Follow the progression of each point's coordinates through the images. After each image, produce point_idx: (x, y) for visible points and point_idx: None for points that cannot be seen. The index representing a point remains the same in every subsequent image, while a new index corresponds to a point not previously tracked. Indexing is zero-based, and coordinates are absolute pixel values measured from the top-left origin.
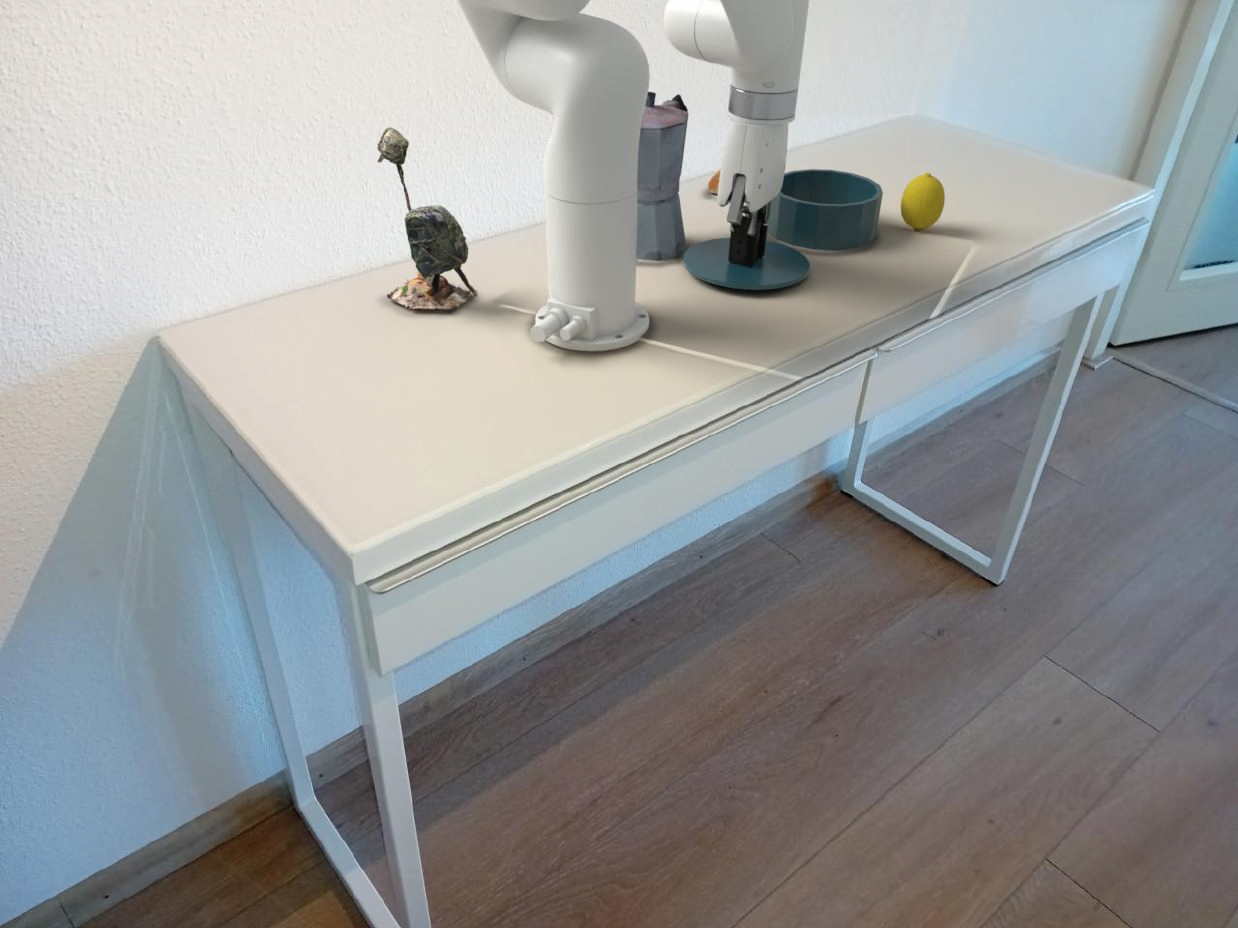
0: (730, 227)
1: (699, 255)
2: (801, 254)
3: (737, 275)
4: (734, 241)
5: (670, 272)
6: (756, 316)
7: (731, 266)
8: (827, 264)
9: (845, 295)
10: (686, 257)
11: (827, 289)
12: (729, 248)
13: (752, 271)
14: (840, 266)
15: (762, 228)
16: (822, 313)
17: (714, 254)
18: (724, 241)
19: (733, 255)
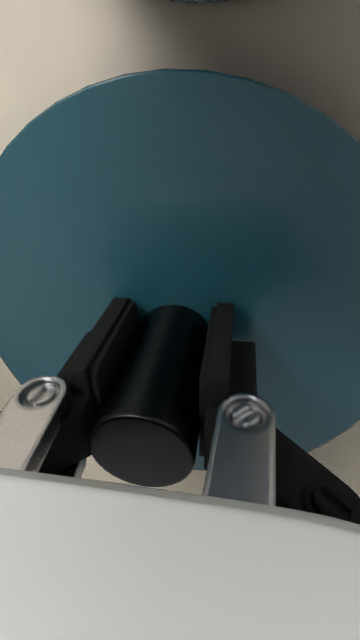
0: (13, 395)
1: (110, 168)
2: (308, 448)
3: (48, 346)
4: (64, 367)
5: (61, 50)
6: (2, 383)
7: (95, 312)
8: (354, 462)
9: (193, 493)
10: (52, 125)
11: (204, 470)
12: (99, 321)
13: None
14: (350, 483)
15: (201, 451)
16: (96, 469)
17: (158, 221)
18: (333, 199)
19: (87, 334)
